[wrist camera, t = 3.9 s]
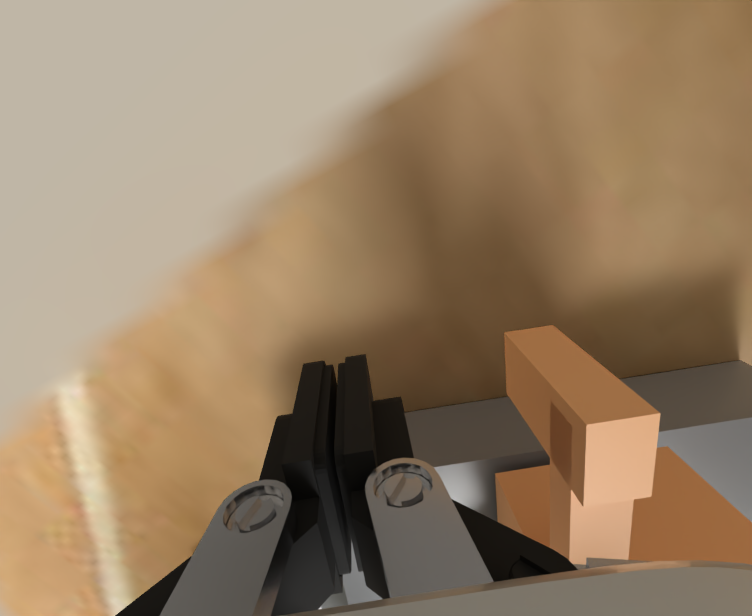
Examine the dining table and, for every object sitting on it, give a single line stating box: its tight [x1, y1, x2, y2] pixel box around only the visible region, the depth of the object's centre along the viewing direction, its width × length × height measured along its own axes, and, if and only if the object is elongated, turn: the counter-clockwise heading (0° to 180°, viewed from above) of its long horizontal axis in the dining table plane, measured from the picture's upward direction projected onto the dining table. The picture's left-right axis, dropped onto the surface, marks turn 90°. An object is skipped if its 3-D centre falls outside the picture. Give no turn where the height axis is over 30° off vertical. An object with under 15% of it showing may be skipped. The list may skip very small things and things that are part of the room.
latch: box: [495, 325, 752, 565], centre depth 12 cm, size 6×11×5 cm, turn 8°
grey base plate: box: [343, 360, 752, 605], centre depth 17 cm, size 18×12×6 cm, turn 98°
